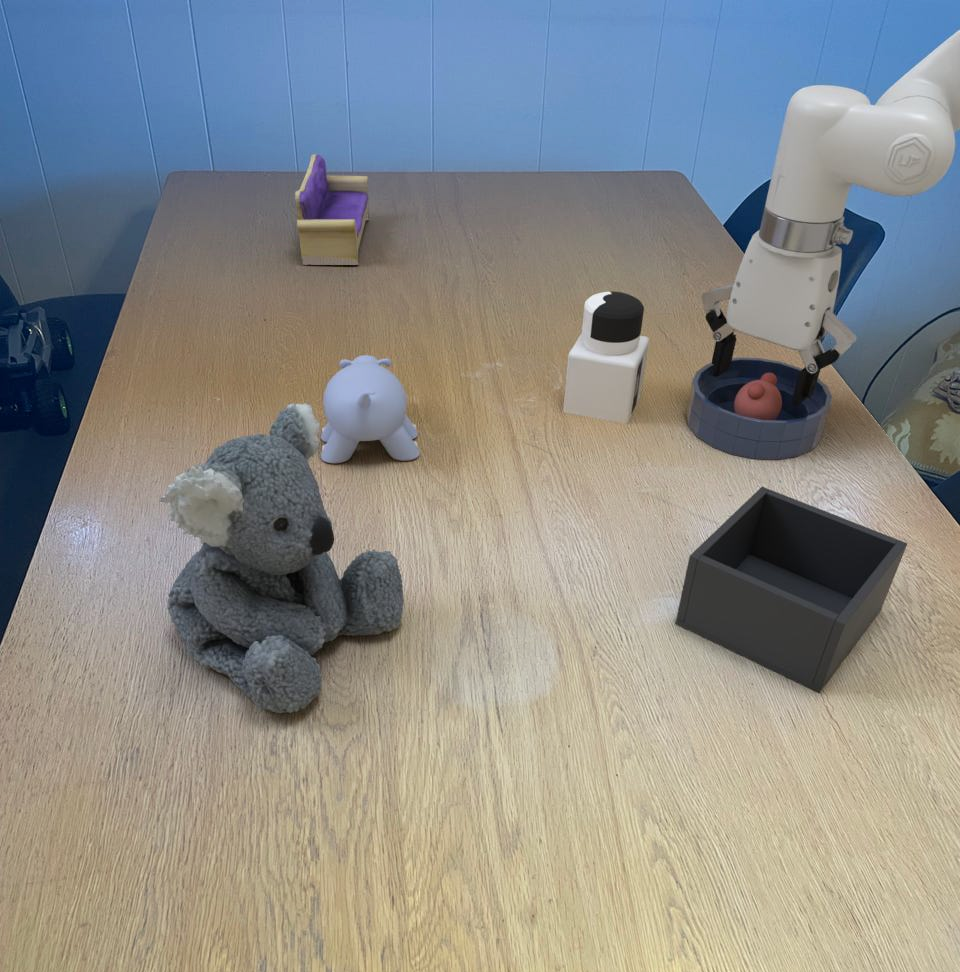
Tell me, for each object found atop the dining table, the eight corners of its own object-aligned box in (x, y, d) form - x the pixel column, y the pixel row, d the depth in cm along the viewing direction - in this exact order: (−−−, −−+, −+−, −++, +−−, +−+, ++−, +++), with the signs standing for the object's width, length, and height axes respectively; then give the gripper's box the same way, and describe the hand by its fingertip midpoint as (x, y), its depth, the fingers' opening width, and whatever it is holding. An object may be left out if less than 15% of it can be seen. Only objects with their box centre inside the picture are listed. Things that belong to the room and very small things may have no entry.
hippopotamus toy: (414, 403, 114) (412, 325, 107) (422, 472, 103) (420, 390, 96) (322, 406, 113) (314, 328, 106) (320, 476, 102) (311, 394, 95)
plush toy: (783, 423, 111) (795, 377, 107) (763, 440, 108) (775, 394, 104) (742, 408, 113) (753, 363, 110) (722, 425, 110) (732, 379, 107)
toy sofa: (358, 268, 143) (354, 196, 136) (300, 267, 143) (292, 195, 136) (371, 219, 159) (368, 152, 152) (319, 218, 158) (313, 150, 152)
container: (641, 397, 116) (656, 291, 107) (627, 428, 110) (642, 318, 102) (579, 385, 118) (589, 280, 109) (562, 415, 112) (571, 307, 103)
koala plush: (290, 737, 74) (257, 531, 61) (126, 650, 81) (64, 448, 68) (418, 615, 85) (413, 418, 72) (264, 547, 92) (233, 356, 79)
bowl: (841, 424, 112) (853, 385, 109) (784, 479, 103) (796, 438, 100) (723, 383, 119) (731, 345, 116) (661, 432, 110) (668, 392, 107)
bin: (880, 610, 87) (907, 543, 82) (819, 693, 79) (845, 624, 74) (744, 552, 93) (761, 485, 88) (674, 623, 85) (689, 555, 80)
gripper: (897, 241, 95) (846, 399, 106) (737, 199, 102) (706, 351, 114) (868, 263, 90) (818, 425, 102) (703, 217, 98) (674, 373, 109)
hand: (759, 386), depth 108 cm, fingers open, 9 cm apart
